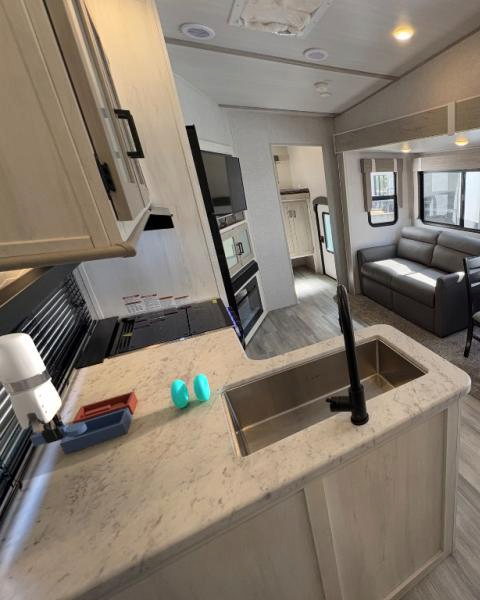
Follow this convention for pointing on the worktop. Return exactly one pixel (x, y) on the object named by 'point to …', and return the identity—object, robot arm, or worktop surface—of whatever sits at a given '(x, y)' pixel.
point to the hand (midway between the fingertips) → (57, 437)
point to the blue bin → (99, 430)
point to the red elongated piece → (102, 409)
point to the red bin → (127, 399)
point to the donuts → (181, 391)
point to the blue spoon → (66, 432)
